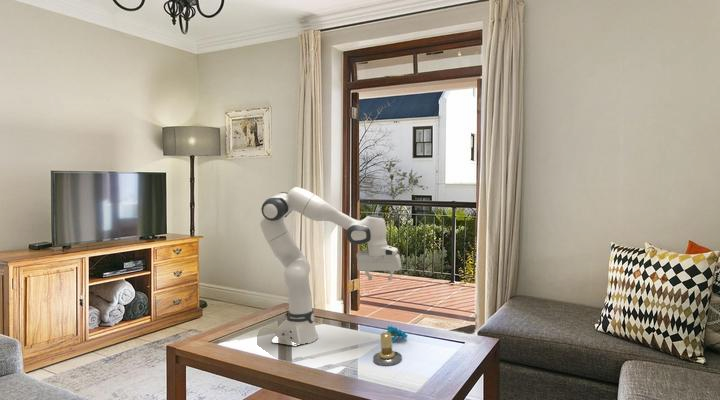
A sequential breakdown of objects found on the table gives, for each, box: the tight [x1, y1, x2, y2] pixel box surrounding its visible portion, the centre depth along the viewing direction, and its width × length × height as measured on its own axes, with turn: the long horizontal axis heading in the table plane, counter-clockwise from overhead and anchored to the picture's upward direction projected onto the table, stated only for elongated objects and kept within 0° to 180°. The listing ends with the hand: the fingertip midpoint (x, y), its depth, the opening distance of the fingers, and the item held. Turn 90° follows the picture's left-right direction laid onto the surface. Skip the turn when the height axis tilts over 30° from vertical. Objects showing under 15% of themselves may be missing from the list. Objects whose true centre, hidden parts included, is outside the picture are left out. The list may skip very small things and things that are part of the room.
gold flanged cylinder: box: [378, 332, 396, 360], centre depth 188 cm, size 6×6×10 cm
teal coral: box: [386, 325, 408, 344], centre depth 207 cm, size 11×6×10 cm
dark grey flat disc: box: [372, 350, 403, 367], centre depth 188 cm, size 12×12×1 cm
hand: (380, 280), depth 205 cm, fingers open, 8 cm apart
